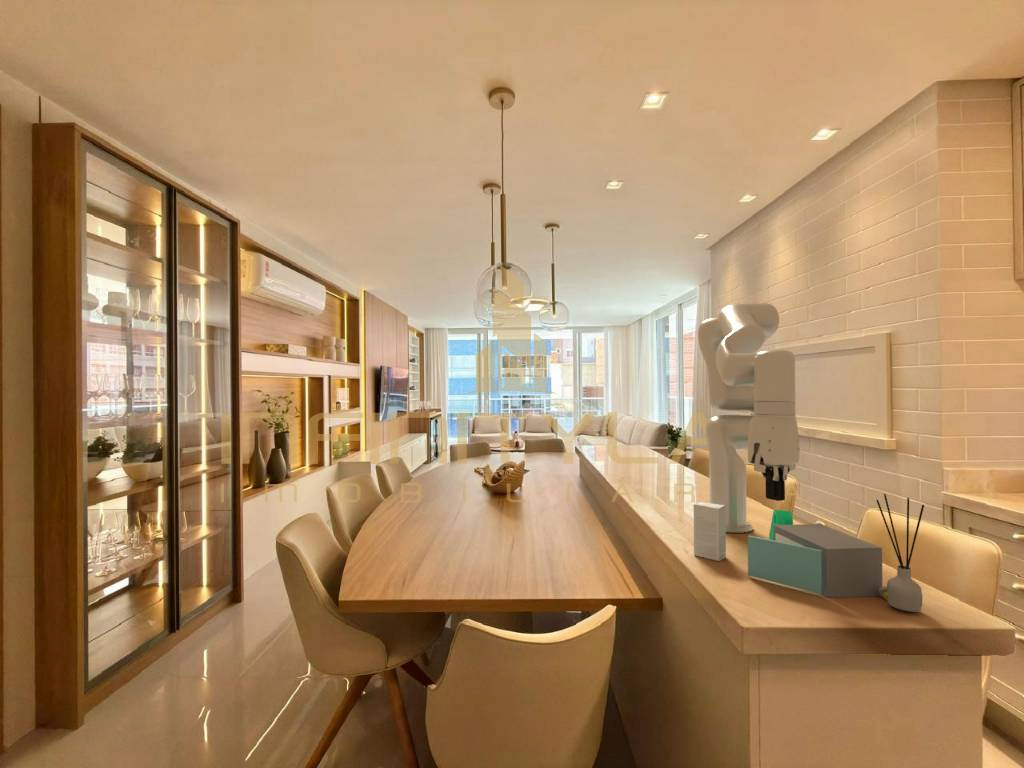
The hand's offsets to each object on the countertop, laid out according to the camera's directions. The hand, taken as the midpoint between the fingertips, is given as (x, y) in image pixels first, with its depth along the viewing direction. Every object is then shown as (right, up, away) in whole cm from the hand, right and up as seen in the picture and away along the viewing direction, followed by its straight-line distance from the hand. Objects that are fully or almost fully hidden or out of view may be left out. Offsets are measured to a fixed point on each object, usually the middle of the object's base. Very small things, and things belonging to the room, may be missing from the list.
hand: (775, 499), depth 99 cm
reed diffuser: (+14, -16, -14) cm, 25 cm away
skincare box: (-8, -17, +13) cm, 22 cm away
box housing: (+9, -16, -1) cm, 19 cm away
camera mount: (+12, -17, +14) cm, 25 cm away
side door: (-1, -16, -5) cm, 16 cm away
